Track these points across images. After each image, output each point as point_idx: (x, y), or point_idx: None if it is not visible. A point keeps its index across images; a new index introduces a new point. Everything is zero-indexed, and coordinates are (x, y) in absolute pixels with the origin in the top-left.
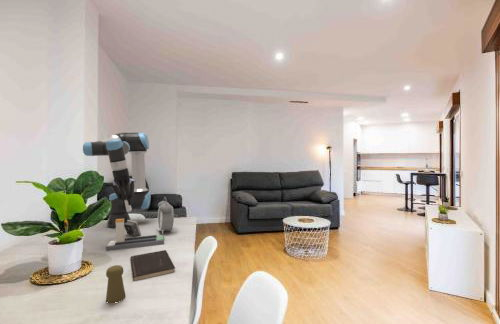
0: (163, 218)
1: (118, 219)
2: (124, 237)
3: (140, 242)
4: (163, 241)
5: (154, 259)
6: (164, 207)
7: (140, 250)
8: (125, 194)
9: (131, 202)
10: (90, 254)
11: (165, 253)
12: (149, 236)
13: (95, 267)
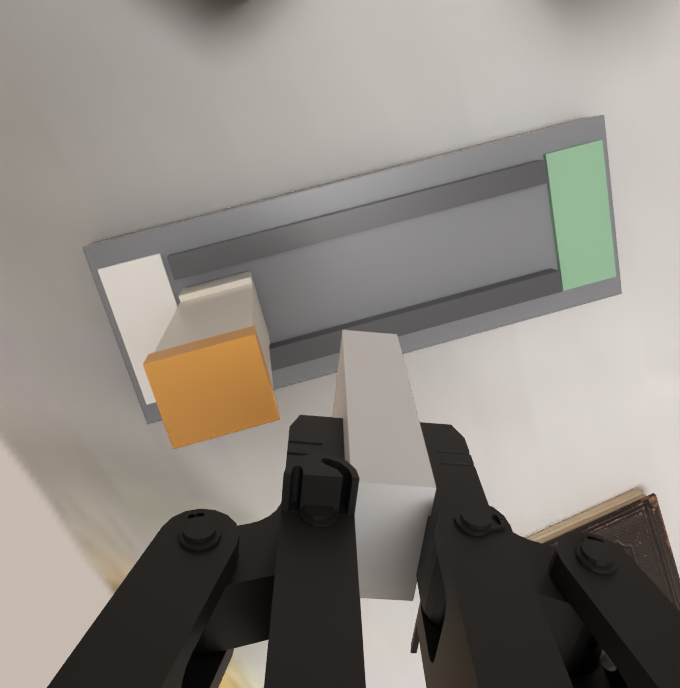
0: None
1: (191, 391)
2: (254, 290)
3: (424, 329)
4: (614, 291)
5: None
6: None
7: (443, 417)
8: (359, 616)
9: (467, 463)
10: (57, 476)
11: (659, 558)
12: (481, 199)
13: (247, 677)
